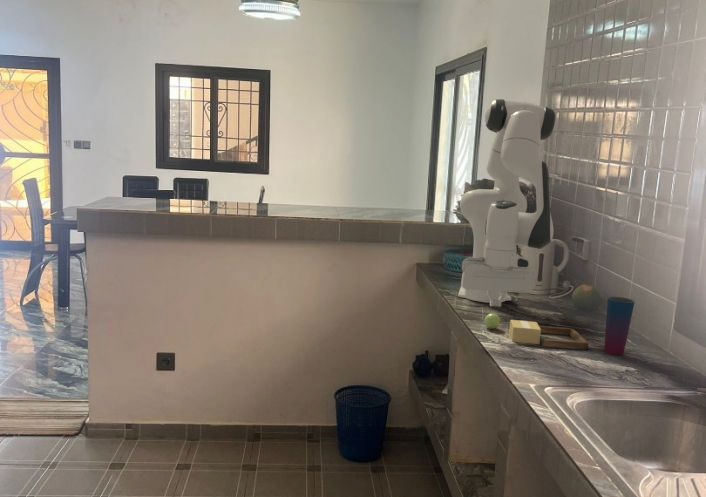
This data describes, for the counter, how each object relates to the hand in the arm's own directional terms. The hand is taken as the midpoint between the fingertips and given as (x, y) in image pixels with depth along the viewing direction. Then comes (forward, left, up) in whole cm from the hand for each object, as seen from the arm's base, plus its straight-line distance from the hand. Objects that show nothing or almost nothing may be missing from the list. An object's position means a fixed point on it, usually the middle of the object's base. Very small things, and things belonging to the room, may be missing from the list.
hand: (495, 306), depth 184 cm
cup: (+7, +32, -9) cm, 34 cm away
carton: (0, +9, -9) cm, 13 cm away
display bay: (-1, +18, -9) cm, 21 cm away
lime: (-8, +1, -9) cm, 12 cm away
